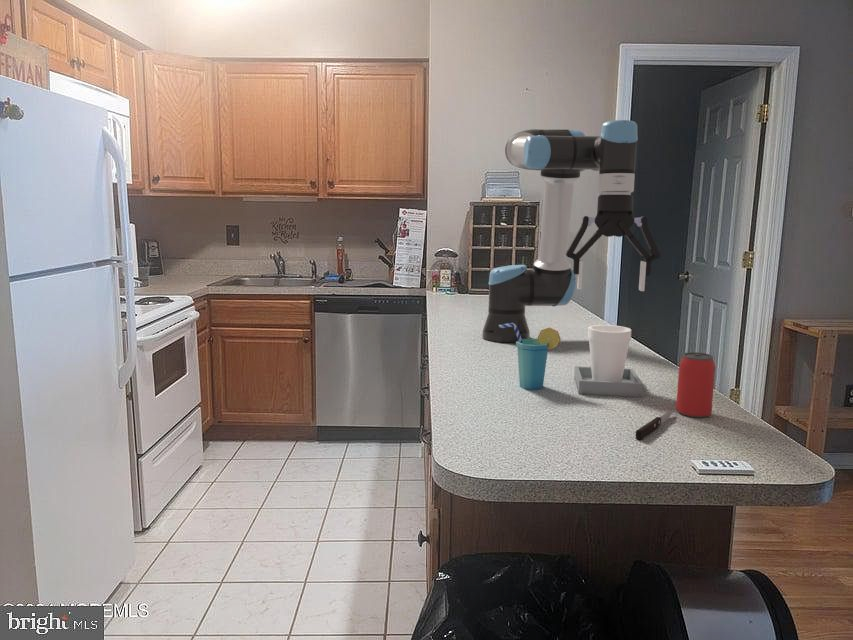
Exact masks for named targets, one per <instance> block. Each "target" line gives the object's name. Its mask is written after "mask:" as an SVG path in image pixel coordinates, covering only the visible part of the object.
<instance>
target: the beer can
mask: <svg viewBox="0 0 853 640" xmlns="http://www.w3.org/2000/svg"><path fill="white" fill-rule="evenodd" d="M678 365H679V366H678V378H677V391H676V404H675V405H676V406H675V409H676V411H677V412H678V413H679V414H680V415H682V416H685V417H690V418H699V419H700V418H708V417H709V416H710V415H711V414H712V412H713V410H712V408H713V398H714V387H715V376H716V364H715V361H714V356H713V354H708V353H704V352H696V351H695V352H694V351H692V352H690V351H689V352H688V351H687V352H684V353H682V358H681V360H680V362H679V364H678Z"/></svg>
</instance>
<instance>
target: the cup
mask: <svg viewBox="0 0 853 640" xmlns="http://www.w3.org/2000/svg"><path fill="white" fill-rule="evenodd" d="M506 327H514V329H515V332H516V335H517V338H518V341H517V342H515V345H516V348H517V363H518V377H519V379H518V380H519V381H518V383H519V388H522V389H523V390H528V391H529V390H530V391H534V390H535V391H537V390H541V389H543V387H544V382H545V374H546V367H547V366H546V365H547V358H548V351H550V350H552V349H556V348H558V346H559V344H560V342H561V340H562V339H561V336H560V333H559V331H558V330H557V329H554V328H552V327H550V326H549V327H546V328H543V329H541V330H540V332H539V334H538V336H537V338H531V337H530V339H521V336H520V333H519V330H518V327H517V326H516V325H515V324H514V323H508V324H502V325H499V328H506Z"/></svg>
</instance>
